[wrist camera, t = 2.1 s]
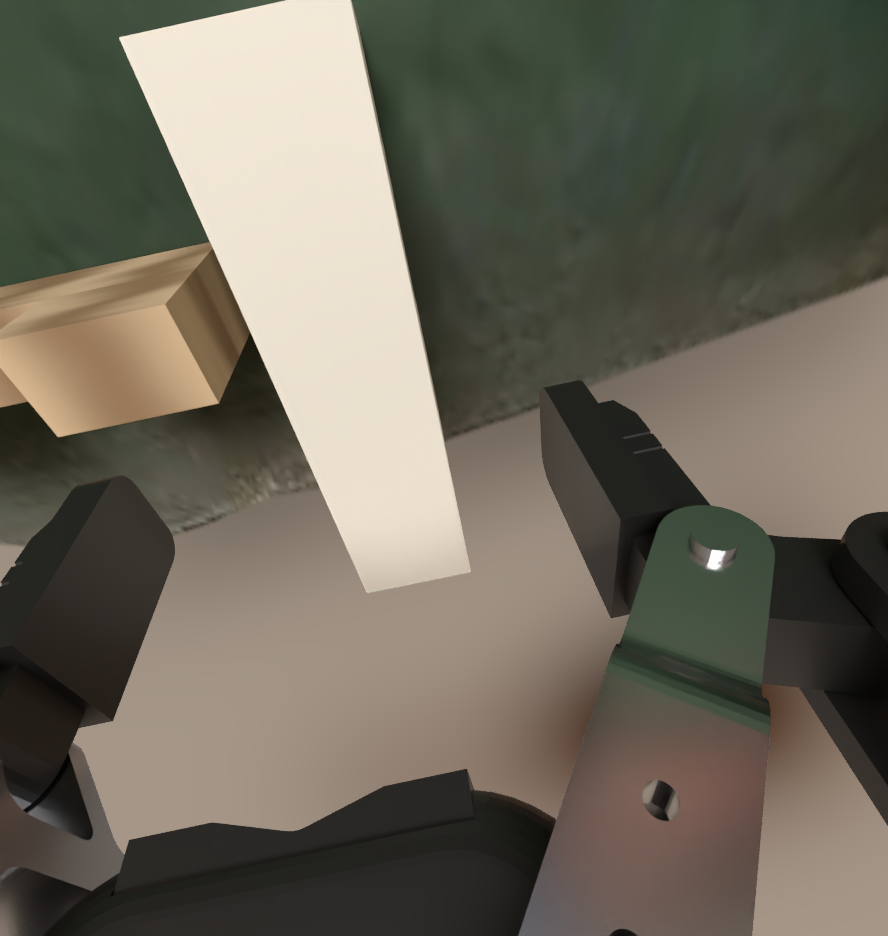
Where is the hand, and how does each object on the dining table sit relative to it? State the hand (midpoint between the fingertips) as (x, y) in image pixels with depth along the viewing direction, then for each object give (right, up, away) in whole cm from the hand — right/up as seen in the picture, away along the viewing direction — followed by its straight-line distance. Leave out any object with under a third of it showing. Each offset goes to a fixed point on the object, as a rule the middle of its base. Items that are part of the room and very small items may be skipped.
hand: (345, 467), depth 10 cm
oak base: (-15, +6, +11) cm, 20 cm away
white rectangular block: (-1, +9, +11) cm, 15 cm away
